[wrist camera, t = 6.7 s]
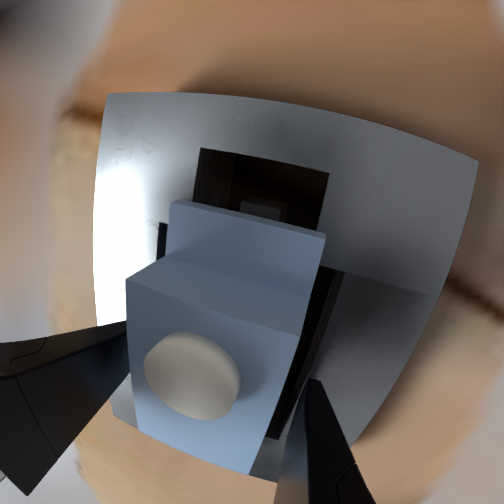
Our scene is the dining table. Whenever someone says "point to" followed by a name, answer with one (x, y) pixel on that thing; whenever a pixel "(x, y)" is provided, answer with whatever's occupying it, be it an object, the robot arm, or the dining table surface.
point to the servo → (219, 326)
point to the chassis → (330, 222)
